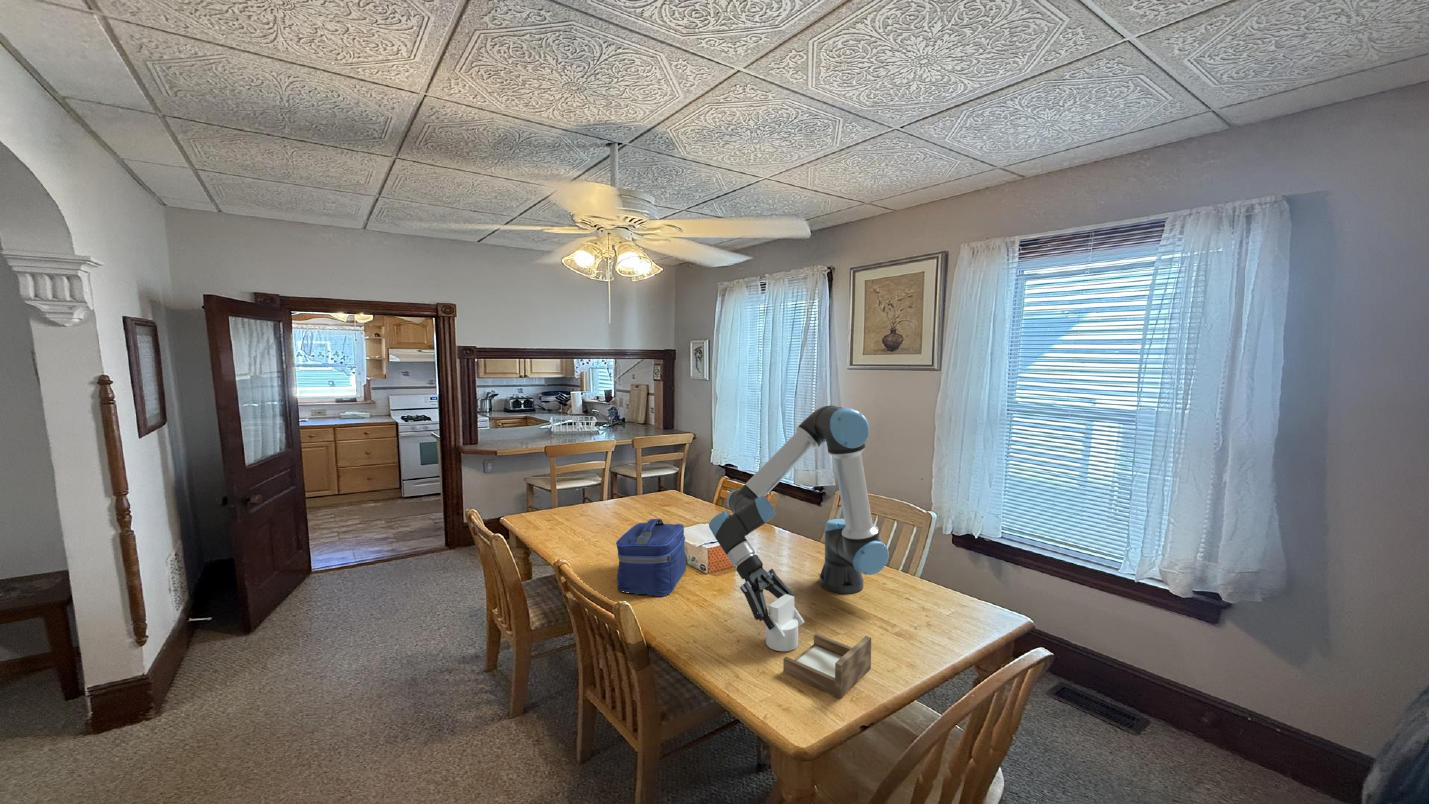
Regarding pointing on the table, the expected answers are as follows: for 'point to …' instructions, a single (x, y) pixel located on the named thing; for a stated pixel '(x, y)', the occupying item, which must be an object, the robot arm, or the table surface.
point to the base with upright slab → (783, 624)
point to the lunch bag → (651, 558)
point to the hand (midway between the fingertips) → (791, 631)
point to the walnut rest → (831, 665)
